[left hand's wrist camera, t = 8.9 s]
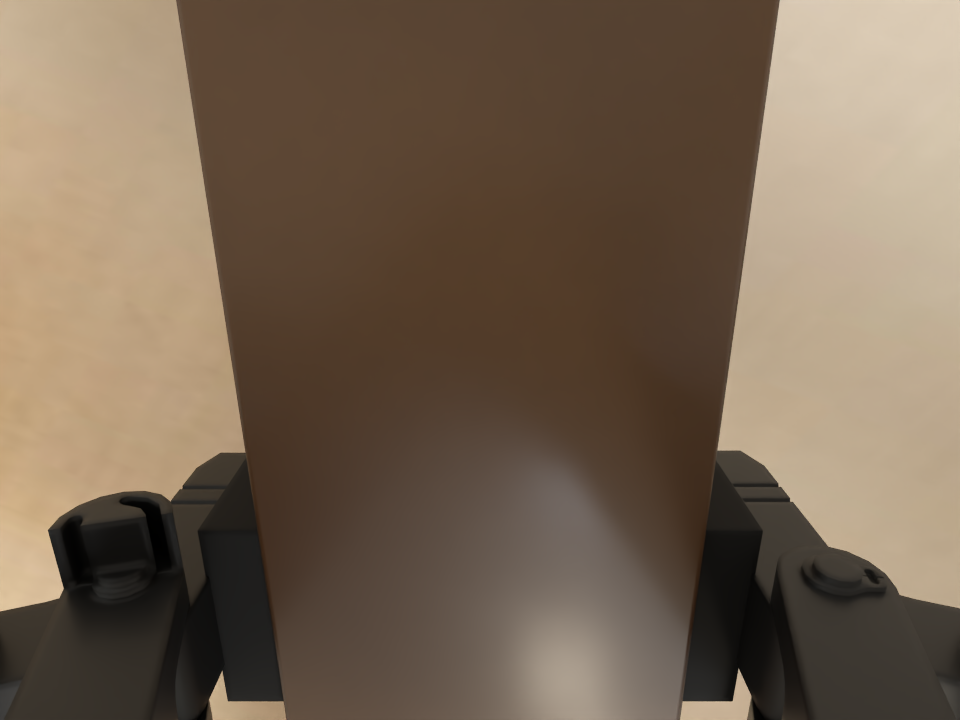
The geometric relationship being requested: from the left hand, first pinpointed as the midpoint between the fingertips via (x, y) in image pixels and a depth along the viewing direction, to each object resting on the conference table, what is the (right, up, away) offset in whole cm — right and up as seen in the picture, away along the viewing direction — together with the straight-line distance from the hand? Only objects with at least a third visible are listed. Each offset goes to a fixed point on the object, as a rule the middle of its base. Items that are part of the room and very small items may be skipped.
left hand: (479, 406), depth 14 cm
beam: (0, -30, +12) cm, 32 cm away
